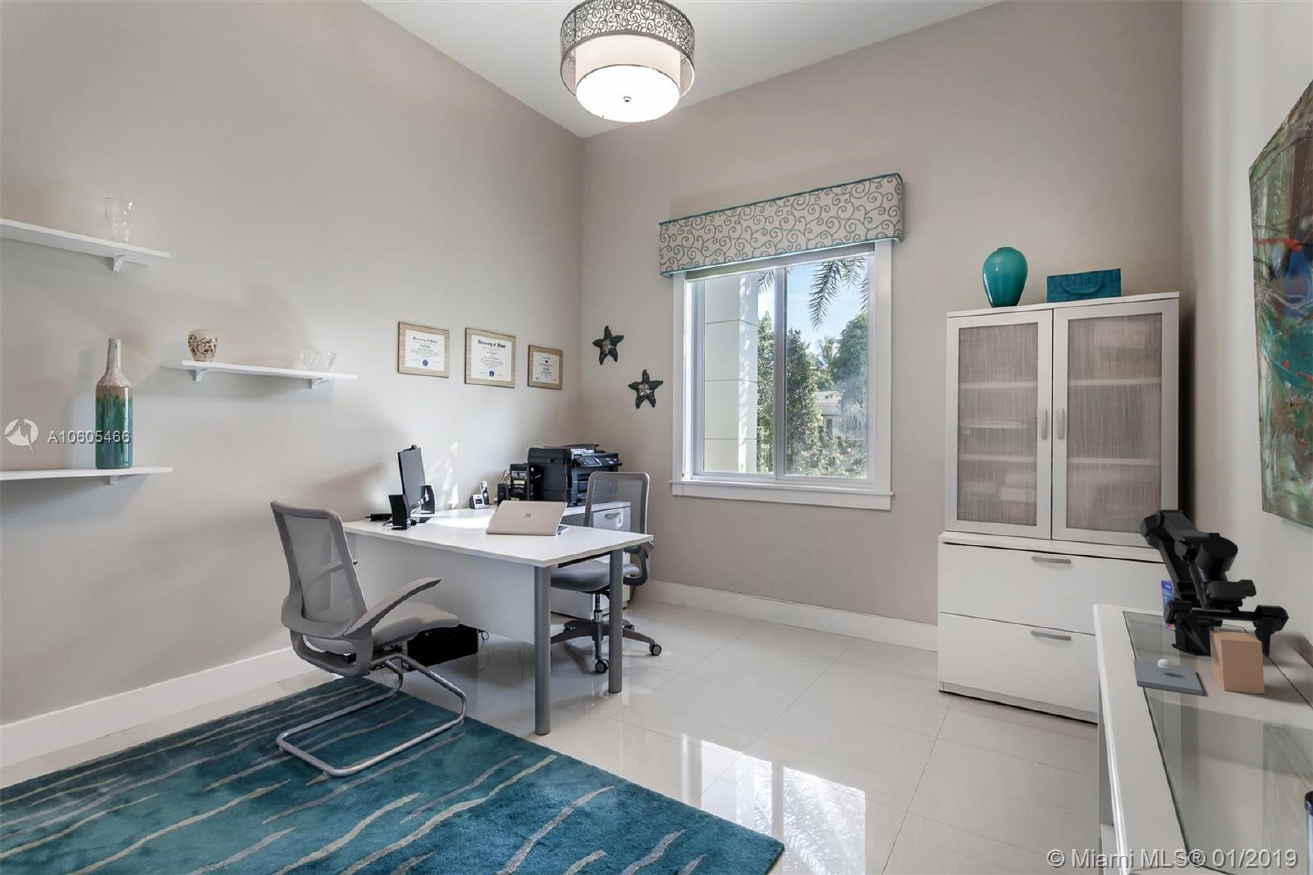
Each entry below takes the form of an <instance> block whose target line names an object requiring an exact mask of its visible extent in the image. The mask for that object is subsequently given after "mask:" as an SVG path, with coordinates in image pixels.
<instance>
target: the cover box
mask: <svg viewBox="0 0 1313 875" xmlns="http://www.w3.org/2000/svg"><path fill="white" fill-rule="evenodd" d="M1210 646H1211V654H1210V661H1211V676H1212V677H1211V678H1212V681H1214V682H1215V684H1217V685H1218V686H1219V687H1220V688H1221V689H1222V690H1223V691H1228V692H1238V693H1246V694H1247V693H1249V694H1255V695H1256V694H1259V693H1265V678H1264V677H1265V676H1264V663H1263V653H1262V642H1260V641H1259V640H1257V637H1256V636H1255V637H1254V636H1253V635H1252V634H1250V633H1248V632H1236V631H1223V630H1219V631H1210ZM1259 695H1260V694H1259Z"/></svg>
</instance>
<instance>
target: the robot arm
mask: <svg viewBox="0 0 1313 875" xmlns="http://www.w3.org/2000/svg"><path fill="white" fill-rule="evenodd" d="M1139 526H1140V527H1139V529H1140V530H1139V531H1140V535H1141V537H1143V538H1144V539H1145V542H1146V543H1147V545H1148V546H1150V547H1152V548H1154V549H1156V550H1157V551H1158V552H1159V554H1160V556H1161V559H1162V561H1163V564H1164V566H1165V568H1166V571H1167V573H1168V575H1169V577H1170V580H1172V582H1173V584H1174V587H1175V590H1174V595H1173V598H1172V600H1169V601H1168V602H1167V603H1166V606H1165V609H1163V615H1162V616H1163V619H1165V621H1164V624H1165V623H1167V624H1171V625H1174V627H1175V628H1176V629H1175V631H1174V633H1175V634H1174V635H1175V636H1174V637H1175V643H1170V644H1171V647H1174V648H1175V649H1178V650H1182V651H1184V652H1187V653H1189V654H1192V655H1196V656H1197V655H1198V656H1199V655H1211V646H1210V631H1214V626H1215V627H1219V628H1222V626H1223V621H1238V622H1251V623H1252V626H1253V628H1255V630H1254V635H1255V638H1256V639H1257V640H1259V641H1260V642H1262V655H1263V656H1264V657H1265V658H1269V656H1270V650H1271V649H1270V648H1271V636H1272V635H1274V634H1276V632H1281V631H1283V629H1284V627H1285V626H1286V623H1287V622H1288V620H1289V619H1290V616H1289V613H1288V612H1287V610H1286V609H1285V608H1284V607H1282V606H1280V605H1267V604H1266V605H1265V604H1257V605H1256V607H1255V609H1254V611H1251V610H1240V608H1242V607H1243V605H1244V602H1243V600H1246V599H1247V598H1252V597H1254V596H1255V597H1256V595H1257V588H1256V585H1255V583H1254V581H1253V580H1252V579H1246V578H1245V579H1240V580H1238V581H1229V578H1228V577H1227V574H1226V573H1227V572H1229V571H1230V570H1231V568H1232V566H1233V563H1234V561H1235V559H1236V557H1237V555H1238V553H1239V552H1238V551H1239V547H1238V545H1237V544H1235V543H1234V542H1233V541H1232V540H1230V539H1228V538H1227V537H1223V536H1221V534H1220V532H1206V531H1201V530H1199V529H1197V527H1196V526H1194V524H1193V523H1192V522H1191V521H1190V520H1189V519H1188V518H1187V517H1186V516H1185V512H1184V511H1183V510H1180V509H1176V508H1175V509H1172V508H1171V509H1168V508H1167V509H1159V510H1156V511H1155V512H1154V514H1153V513H1152V514H1151V515H1148V516H1147V517H1144V518H1143V519H1142V521H1141V523H1140V524H1139ZM1190 562H1191V563H1190Z"/></svg>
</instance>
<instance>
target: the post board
mask: <svg viewBox="0 0 1313 875" xmlns="http://www.w3.org/2000/svg"><path fill="white" fill-rule="evenodd" d="M1133 667H1134V668H1133V669H1134V674H1135V681H1136V686H1137V685H1139V686H1138V687H1144V688H1151V689H1158V690H1165V691H1171V692H1177V693H1185V694H1191V695H1197V696H1203V688H1202V686H1201V684H1200V681H1199V679H1198V677H1197V674H1196V671H1195V668H1194V667H1193V666H1188V665H1179V664H1173V663H1172V662H1171V660H1168V658H1167V659H1166V658H1160V659H1159V660H1158V661H1151V660H1142V659H1136V658H1135V659H1134V658H1133Z"/></svg>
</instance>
